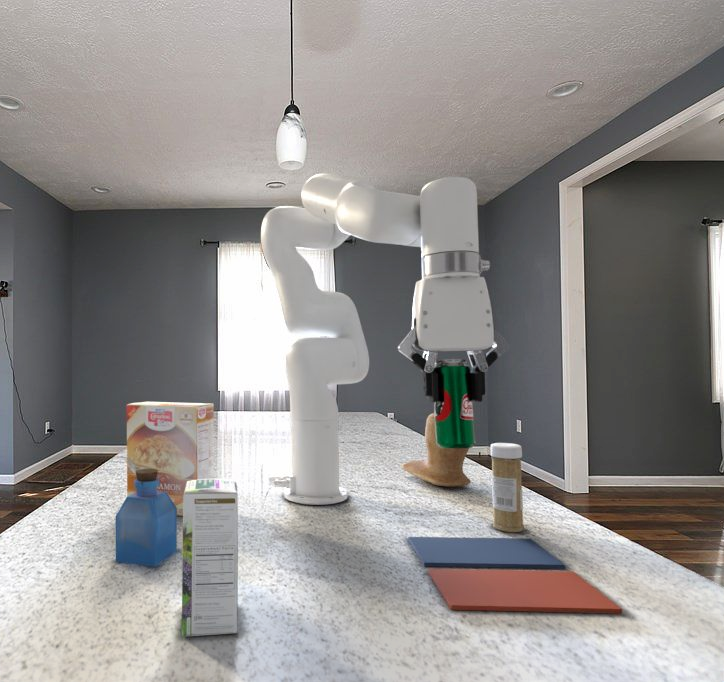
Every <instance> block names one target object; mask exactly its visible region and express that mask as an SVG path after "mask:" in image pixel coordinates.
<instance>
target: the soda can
mask: <svg viewBox="0 0 724 682" xmlns="http://www.w3.org/2000/svg"><path fill="white" fill-rule="evenodd" d="M434 368H435V373H437V374H438V398H439V400H438V401H437V402H433V413H434V416H435V432H436V444H437V445H438V446H439V447H440V448H469V449H472V448H473V447H474V446H475V444H476V433H475V432H476V431H475V430H476V429H475V418H474V416H475V415H474V406H473V405H474V404H473V402H474V401H472V388H471V374H470V372H471V366H469V364H468V363H467V359H464V358H446V359H436V362H435V366H434Z"/></svg>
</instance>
